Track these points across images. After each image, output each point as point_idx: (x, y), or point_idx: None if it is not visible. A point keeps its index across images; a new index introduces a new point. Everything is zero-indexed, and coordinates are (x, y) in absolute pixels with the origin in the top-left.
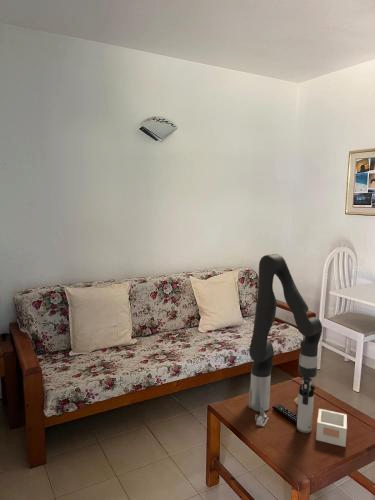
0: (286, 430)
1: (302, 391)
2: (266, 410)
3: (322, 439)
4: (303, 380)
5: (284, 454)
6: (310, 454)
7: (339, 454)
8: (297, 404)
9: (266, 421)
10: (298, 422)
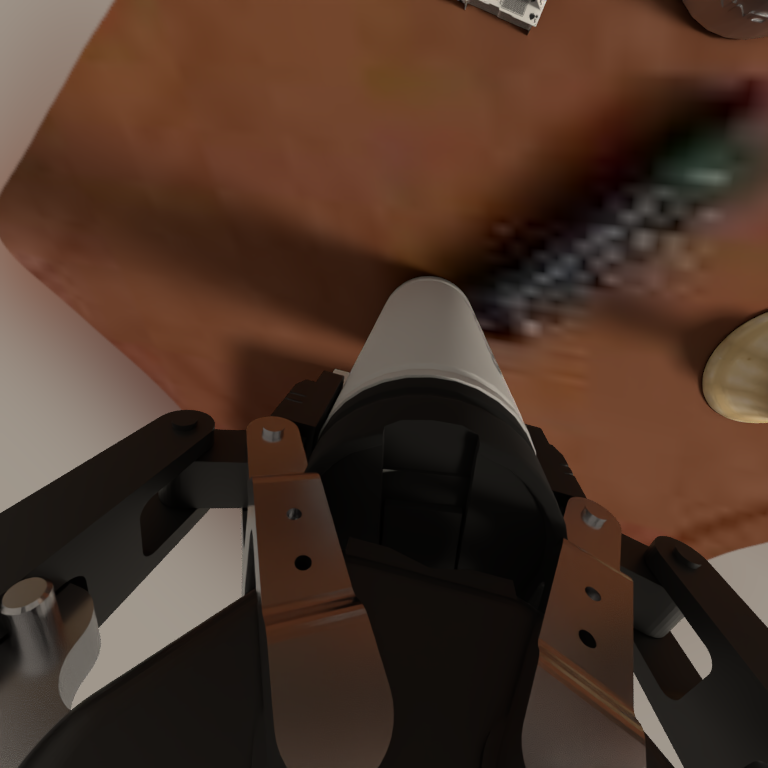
0: (397, 197)
1: (69, 475)
2: (685, 4)
3: None
4: (269, 742)
5: (144, 160)
6: (205, 317)
7: None
8: (746, 323)
9: (487, 5)
10: (403, 290)
